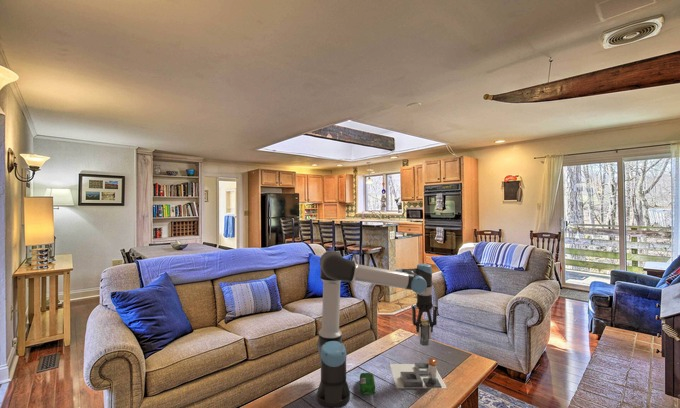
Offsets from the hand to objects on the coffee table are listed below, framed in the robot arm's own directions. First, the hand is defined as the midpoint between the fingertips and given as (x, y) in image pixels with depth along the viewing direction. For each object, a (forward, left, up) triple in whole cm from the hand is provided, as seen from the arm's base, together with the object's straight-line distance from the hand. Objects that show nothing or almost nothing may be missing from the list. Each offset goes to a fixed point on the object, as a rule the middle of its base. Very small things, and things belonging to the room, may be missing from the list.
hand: (424, 338), depth 164 cm
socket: (0, 0, -17) cm, 17 cm away
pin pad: (+1, -11, -17) cm, 20 cm away
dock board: (-5, -4, -18) cm, 19 cm away
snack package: (-31, -14, -18) cm, 39 cm away
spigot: (0, 0, -3) cm, 3 cm away
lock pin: (+1, -11, -17) cm, 20 cm away
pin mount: (-9, -10, -17) cm, 22 cm away
